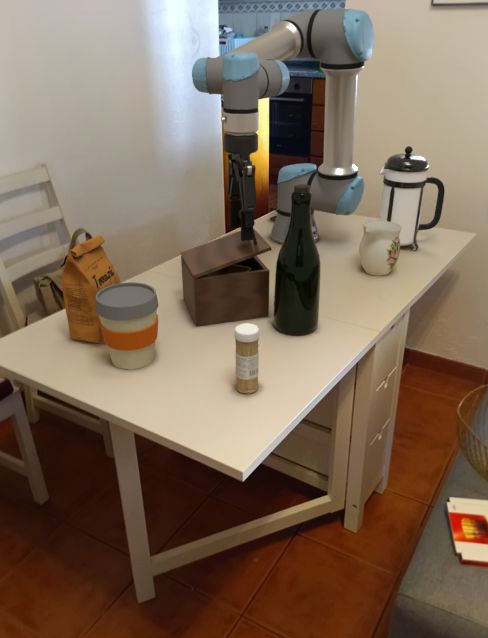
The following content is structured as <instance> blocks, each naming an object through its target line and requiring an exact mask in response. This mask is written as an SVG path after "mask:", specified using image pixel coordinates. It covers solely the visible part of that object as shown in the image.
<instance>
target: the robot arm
mask: <svg viewBox="0 0 488 638" xmlns="http://www.w3.org/2000/svg"><path fill="white" fill-rule="evenodd" d="M374 46H375V30H374V25H373V21H372V19H371V17H370V15H369V14H368V12H366V11H365V10H361V9H355V8H354V9H353V8H340V9H339V8H336V9H335V8H334V9H333V8H332V9H318V8H317V9H315V8H314V9H308V10H305V11H301V12H299V13H296V14H293V15H291V16H288V17H287V18H284V19H282V20H280V21H278V22H276V23H274V25H273V26H272V27H271V29H270V31H267V32H265V33H263V34H261V35H259V36H257V37H255V38H253V39H252V40H249V41H247V42H245V43H244V44H241V45H239V46H237V47H235V48H233V49H231V50H229V51H227V52H225V53H223V54H221V55H218V56H216V57H210V56H206V57H200V58H197V59H196V60H195V62H194V63H193V66H192V70H191V79H192V84H193V86H194V88H195V90H197V91H198V92H200V93H205V94H208V95H221V96H222V101H223V102H222V103H223V106H222V110H223V111H222V113H223V114H222V115H223V116H221V117H220V121H221V123H223V131H224V132H225V133H224V134H223V151H224V152H225V153H226V154H227V153H228V154H227V181H226V183H227V186H226V190H227V191H226V194H227V196H228V199H229V227H230V229H238V228H239V229H240V231H241V241H247V240H253V228H254V226H253V220H254V213H257V212H258V208H257V207H258V206H257V191H256V187H257V186H256V169H257V168H256V165H255V164H253V162H252V160H251V154H254V153H256V152H258V150H259V134H258V133H257V132H258V131H259V128H260V127H259V126H260V121H259V120H260V119H259V115H260V114H259V100H263V99H269V98H275V97H277V96H280V95H282V94H284V92H286V91H287V89H288V87H289V84H290V80H291V79H290V71H289V68H288V67H287V65H286V64H285V63H284V62H290V61H293V60H294V59H315V60H320V69H321V71H322V72H323V73H324V74H325V93H324V96H325V97H324V125H323V127H324V132H323V161H322V164H320V165H319V166H318V167H317V165H316V164H315V163H309V162H307V163H304V162H303V163H295V164H290V165H285V166H282V167H281V168H280V169H279V171H278V177H277V183H276V184H277V207H274V206H273V207H272V206H271V208H269V211H272V210H273V211H275V212H276V213H277V214H276V215H273V216H270V218H269V220H270V221H272V222H273V225H272V228H271V230H270V231H271V233H270V235H271V236H270V238H271V240H272V241H273V242H275V243H277V244H280V245H282V244H283V242H284V239H285V237H286V234H287V231H288V228H289V223H290V215H291V194H292V191H294V186H295V185H297V184H306V185H309V186H310V191H311V192H312V201H311V226H312V232H313V236H314V240H315V243H316V242H317V241H318V240H319V230H318V226H317V223H316V219H315V211H317V212H322V213H327V214H332V215H336V216H339V215H340V216H351V215H352V214H354V213H355V211H356V210H357V209H358V207H359V205H360V204H361V201H362V198H363V195H364V191H365V179H364V178H363V177H362V176H360V175H358V171H359V167H358V166H357V165H356V164H355V163H354V153H355V134H356V115H357V99H358V81H359V80H358V79H359V74H360V72H361V71H362V70H363V69H364V68H365V62H367V61H368V60H370V59H371V57H372V55H373V49H374ZM240 209H242V210H240ZM238 210H240V211H239V213H240V214H241V219H240V218H239V217H238V216H237V212H238Z"/></svg>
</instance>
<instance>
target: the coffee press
mask: <svg viewBox="0 0 488 638" xmlns="http://www.w3.org/2000/svg"><path fill="white" fill-rule="evenodd" d="M413 151H414V150H413V147H412V146H410V145H408V146H406V147H405V149H404V152H405V153H396V154H393V155H391V156H389V157H388V158H387V160H386V162H385V163H384V165H383V167H382V168H381V169H380V171H379V173H378V174H379V175H383V179H382V183H383V187H382V195H381V205H380V211H379V213H380V214H379V220H378V221H389V222H393V223H396V224H398V225H400V226H401V232H400V234H399V240H400V247H403V246H404V247H405V246H409V247H410V249H411V250H412V251H416V250H418V249H419V244H418V243H417V238H418V233H419V231H427V230H431V229H433V228H435V227H436V226H437V225H438V224H439V222H440V220H441V217H442V211H443V205H444V199H445V191H446V190H445V185H444V183H443V181H442V180H440V179H439V178H437V177H434V176H430V177H427V175H428V174H427V173H428V171H429V168H430V165H429V164H428V160H427V159H426V157H424V156H422V155H420V154H414V153H413ZM427 184H431V185H435V186H436V187H437V198H436V204H435V208H434V215H433V219H432V220H431V221H430V222H428V223H420V219H421V215H422V207H423V201H424V193H425V187H426V186H427Z"/></svg>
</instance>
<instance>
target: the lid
mask: <svg viewBox="0 0 488 638" xmlns="http://www.w3.org/2000/svg"><path fill="white" fill-rule="evenodd" d="M240 210H242V209H240ZM240 210H238V212H237V216H238V217H239V218H240V219H241V214H240V213H239V211H240ZM255 224H256V221H255V220H254V219H253V240H247V241H241V230H239V231H235V232H233V233H231V234H228V235H225V236H222V237H219V238H217V239H214V240H211V241H208V242H206V243H203V244H201V245H197V246H195V247H192V248H189V249H187V250H184V251H181V252H180V255H181V256H182V258H183V260H184V261H185V263H186V265H187V267H188V269H189V270H190V272H191V274H192V276H193V278H194V279H195V278H198V277H201V276H203V275H206V274H209V273H211V272H214V271H217V270H219V269H222V268H225V267H227V266H230V265H233V264H236V263H238V262H241V261H244V260H246V259H249V258H252V257H254V256H257V257H258V256H260V255H262V254H265V253H267V252H271V251H273V249H272V246H271V244H269V243H268V242H267V241H266V239H264V237H262V235H260V233H259V232H258V231H257V230H256V229H255V228H254V226H255ZM181 256H180V257H181Z"/></svg>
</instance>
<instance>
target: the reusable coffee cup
mask: <svg viewBox="0 0 488 638" xmlns="http://www.w3.org/2000/svg"><path fill="white" fill-rule="evenodd" d="M159 305H160V304H159V299H158V295H157V291H156V289H155V288H154V287H153V286H152V285H150V284H146V283H142V282H134V281H133V282H120V283H118V284H114V285H110V286H107V287H105V288H103V289H101V290H100V291H99V292H98V293H97V294H96V312H97V313H98V314H99V317H100V320H99V325H100V328H101V332H102V335H103V342H104V344H105V345H106V346H107V349H108V353H109V356H110V360H111V362H112V364H113V365H114V366H115V367H117V368H119V369H123V370H138V369H142V368H145V367H147V366H148V365H150V364H152V363H153V361H154V360H155V351H156V341H157V339H158V333H159V332H158V331H159V315H158V308H159V307H160V306H159Z"/></svg>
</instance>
